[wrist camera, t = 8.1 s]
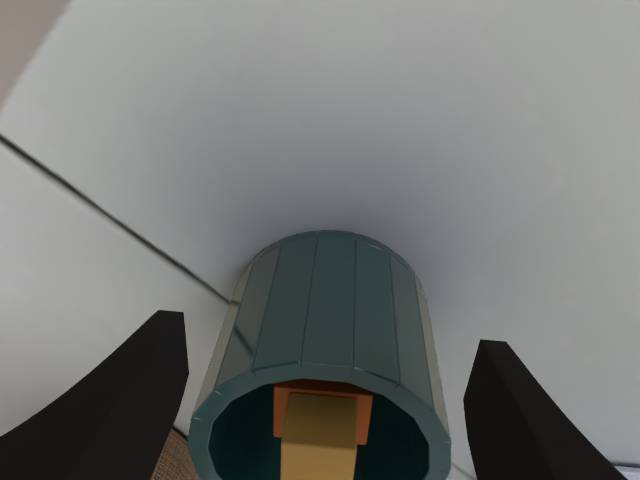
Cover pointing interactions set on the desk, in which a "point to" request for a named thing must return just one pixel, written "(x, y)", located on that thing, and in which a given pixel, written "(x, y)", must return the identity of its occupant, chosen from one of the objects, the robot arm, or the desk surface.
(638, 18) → the desk surface
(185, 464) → the vase
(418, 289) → the cup
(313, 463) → the tan orange collared block
